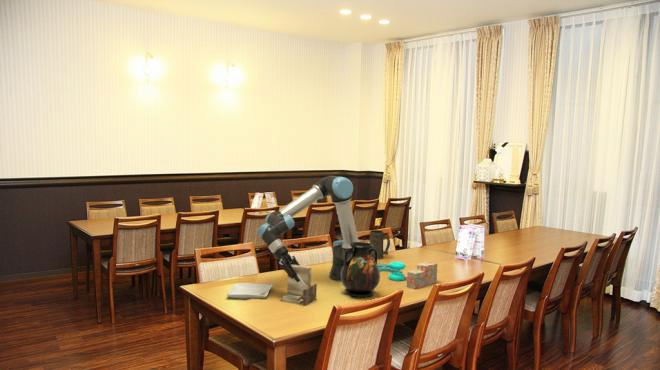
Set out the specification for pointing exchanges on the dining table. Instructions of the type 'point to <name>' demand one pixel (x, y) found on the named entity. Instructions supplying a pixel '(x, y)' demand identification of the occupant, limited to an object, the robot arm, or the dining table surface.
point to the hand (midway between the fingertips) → (305, 285)
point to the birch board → (293, 285)
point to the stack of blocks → (422, 275)
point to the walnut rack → (308, 295)
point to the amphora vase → (360, 271)
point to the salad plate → (249, 290)
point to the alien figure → (386, 268)
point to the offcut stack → (293, 299)
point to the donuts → (397, 275)
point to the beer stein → (378, 243)
